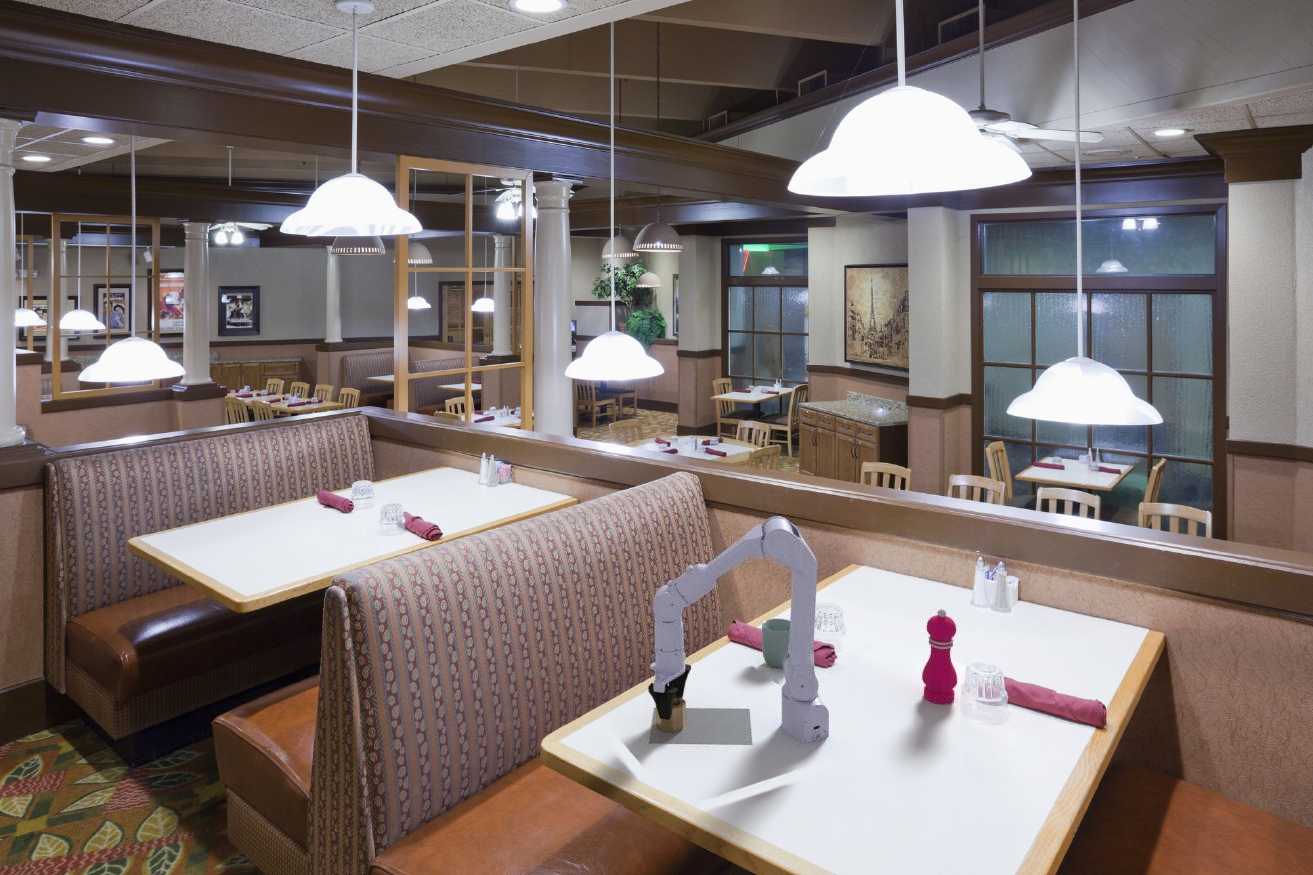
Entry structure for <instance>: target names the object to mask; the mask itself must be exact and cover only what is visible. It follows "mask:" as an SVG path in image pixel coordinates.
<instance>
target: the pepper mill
mask: <svg viewBox="0 0 1313 875" xmlns="http://www.w3.org/2000/svg"><path fill="white" fill-rule="evenodd" d="M926 631H927V633H928V635H929V636H928V644H929V646H930V653H929V658H928V659H927V662H926V663H925V665H924V667H923V670H922V672H921V673H922V674H921V680H922V682H923V684H924V685H925V686H924V687H923V696H924V698H925V699H926V700H927V701H929V702H931V703H934V704H941V705H945V704H946V705H947V704H951V703H952V702H954V701H955V690H954V688H956V686H957V684H958V674H957V672H956V669H955V666H954V664H953V662H952V659H951V650H952V647H953V646H954V639H953V638H954V636H956V633H957V626H956V623H955V620H953V619H952V618H951V617H950V616H947V611H946V610H945V609H943V608H941V609H938V610H937V614H936V615H933V616H931V617H930V618H928V620H927V623H926Z"/></svg>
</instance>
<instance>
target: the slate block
mask: <svg viewBox="0 0 1313 875" xmlns="http://www.w3.org/2000/svg"><path fill="white" fill-rule="evenodd" d="M650 726H651V727H650V734H649V740H648V744H652V745H653V744H658V745H659V744H661V745H662V744H664V745H665V744H666V745H667V744H668V745H675V744H676V745H731V746H732V745H740V746H741V745H742V746H743V745H748V746H750V745H751V746H753V734H752V721H751V709H750V708H731V707H730V708H729V707H728V708H726V707H725V708H724V707H723V708H722V707H721V708H720V707H719V708H714V707H713V708H712V707H708V708H707V707H699V708H698V707H686V725H685V727H684V729H683V730H681V731H677V732H674V733H670V732H664V731H661V730H660V729H659V728H658V727H657V726H656V707H654V708H653V714H652V720H651V725H650Z"/></svg>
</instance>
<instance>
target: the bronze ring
mask: <svg viewBox="0 0 1313 875" xmlns="http://www.w3.org/2000/svg"><path fill="white" fill-rule="evenodd" d="M686 701H687V700H685V699H684V697H683V698H681V696H674V700H673V706H674V707H672V714H671V718H670V720H665V719H660V717H659V714H658V711H657V707H656V706H655V708H656V726H657V727H658V728H659V729H660V730H661V731H664V732H670V733H674V732H677V731H681V730H683V729H684V727H685V725H686V708H687V702H686Z"/></svg>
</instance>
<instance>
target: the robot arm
mask: <svg viewBox="0 0 1313 875" xmlns="http://www.w3.org/2000/svg"><path fill="white" fill-rule="evenodd" d="M765 555H766V556H767V557H768V558H770V559H771V560H773V561H775V562H778V563H780V564H783V565H785V566H786V567H787V568H788V569H790V571H791V572H792V574H791V594H790V595H791V596H790V602H791V603H790V619H789V621H790V640H789V645H788V652H787V655H786V657H785V658H784V660H783V664H782V667H783V668H782V672H783V674H784V680H785V683H784V684H783V685H782V687H781V729H782V731H784V732H785V733H786V734H788V735H791V736H793V737H794V738H795V739H797V740H798V741H800V742H801V743H803V744H804V745H805V744H809V743H810V742H814V741H815V742H817V741H820V740H821V739H823V738H828V737H829V735H830V729H829V728H830V727H829V726H830V725H829V724H830V722H829V721H830V720H829V719H830V713H829V710H828V708H827V706H826V705H825V704H824V703H823V702H822V700H821V698H820V695H819V680H818V678H817V675H816V670H815V655H814V653H815V652H814V644H815V623H816V604H817V586H818V585H817V583H818V582H817V580H818V562H817V558H816V556H815V555H814V553H813V551H812V550H811V548H810V547H809V545H808V544H807V541H806V540H805V539H804V537H803V536H802V534H801V532H800V531H799V528H798V527H797V526H796V525H794V523H792V522H790V520H788V519H787V518H786V517H782V516H778V515H777V516H775V515H773V516H771V517H768V518H767V519H766V520H764V522H763V523H760V524H757V525H755V526H754V527H753V528H752V529H749V531H748V532H747V533H746V534H744V535H743V536H742V537H740V538H739V539H738V540H737V541H735V542H733V544H732V545H730V546H729V547H727V549H724V550H723V551H722V552H721V553H720V554H719V555H718V556H716V557H715V558H713V559H712V560H711V561H710V562H709V563H707V564H705V563H697V564H695V565H694V566H693V565H692V564H689V565H688V566H687V567H686V568H685V572H684V573H682V574H681V575H680V576H678V577H676V578H675V579H673V580H672V579H670V580H669V581H667V582H666V584H664V585H662V586H660V587H659V588H658V589H657V590H656V592H655V595H654V598H653V603H652V610H653V613H654V622H655V623H654V653H655V658H654V659H655V661H654V662H652V663H650V666H649V669H650V670H652V671H654V680H653V682H650V684H649V685H648V688H647V689H648V693H649V695H650V696H651V698H652V699H653V702H654V704H655V708H656V707H657V711H658V714H659V717H660V719H665V720H670V718H671V714H672V706H673V700H674V696H681V698H683V699H684V693H685V688H686V684H687V683H686V682H687V680H688V676H689V674H690V672H691V669H692V666H691V664H686V652H685V644H684V643H685V641H684V640H685V639H684V637H685V636H684V635H685V634H684V623H683V622H684V621H683V617H682V616H683V612H684V608H687V607H690V606H691V605H692V604H694V603H695V602H697V601H698V600H699V599H701V598H702V597H703V596H705V595H706V594H708V593H709V592H711V591H712V590H713V589H715V587H716V582H717V579H719V578H720V577H722V576H723V575H724V574H726V573H728V572H729V571H731V570H733V569H735V568H736V567H737V566H739V565H740V564H742V563H744V562H746V561H747V560H748V559H756V560H761V561H763V560H764V561H765Z"/></svg>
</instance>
